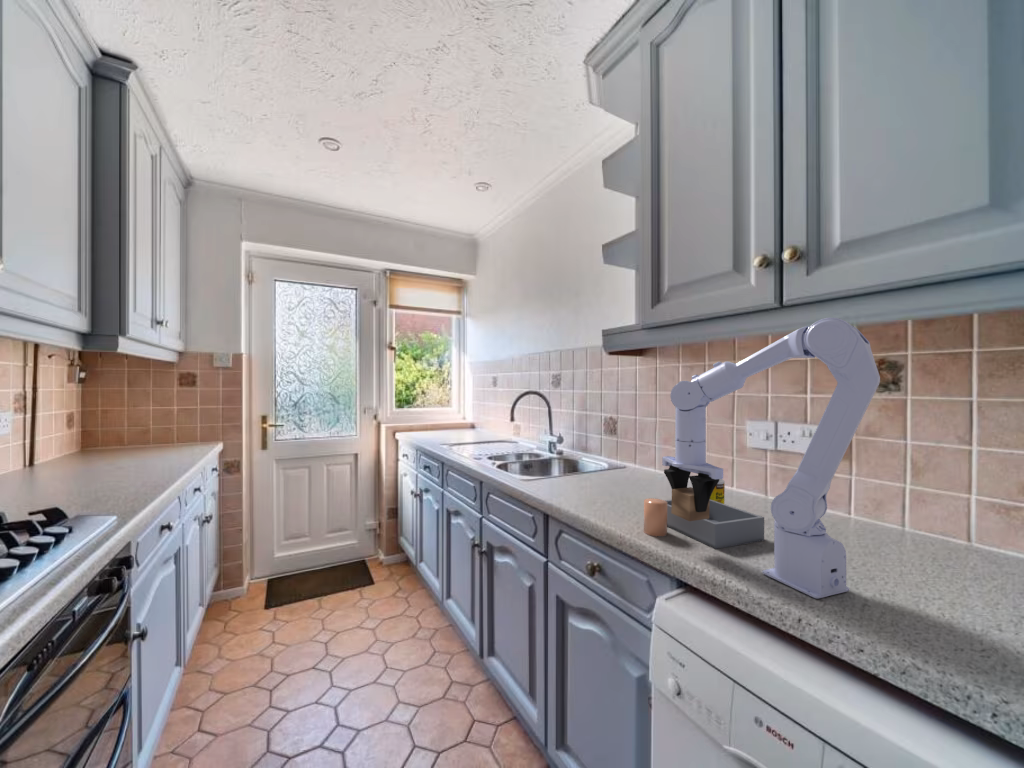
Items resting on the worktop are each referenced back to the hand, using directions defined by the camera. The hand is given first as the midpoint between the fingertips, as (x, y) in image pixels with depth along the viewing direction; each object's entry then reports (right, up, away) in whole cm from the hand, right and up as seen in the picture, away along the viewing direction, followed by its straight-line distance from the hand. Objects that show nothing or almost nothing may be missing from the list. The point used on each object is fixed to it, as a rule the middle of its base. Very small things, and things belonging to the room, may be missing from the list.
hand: (690, 507), depth 83 cm
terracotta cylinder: (-4, -8, +9) cm, 13 cm away
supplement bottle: (+18, -9, +26) cm, 33 cm away
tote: (+8, -9, +10) cm, 16 cm away
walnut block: (0, -2, 0) cm, 2 cm away
